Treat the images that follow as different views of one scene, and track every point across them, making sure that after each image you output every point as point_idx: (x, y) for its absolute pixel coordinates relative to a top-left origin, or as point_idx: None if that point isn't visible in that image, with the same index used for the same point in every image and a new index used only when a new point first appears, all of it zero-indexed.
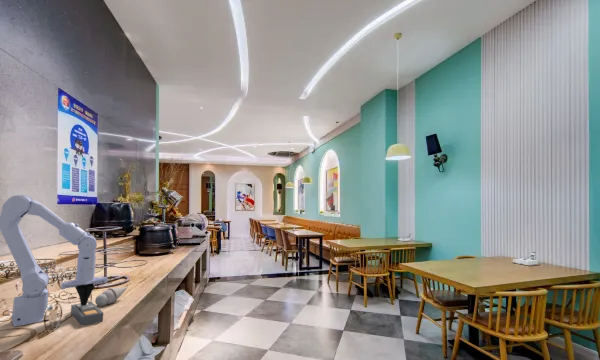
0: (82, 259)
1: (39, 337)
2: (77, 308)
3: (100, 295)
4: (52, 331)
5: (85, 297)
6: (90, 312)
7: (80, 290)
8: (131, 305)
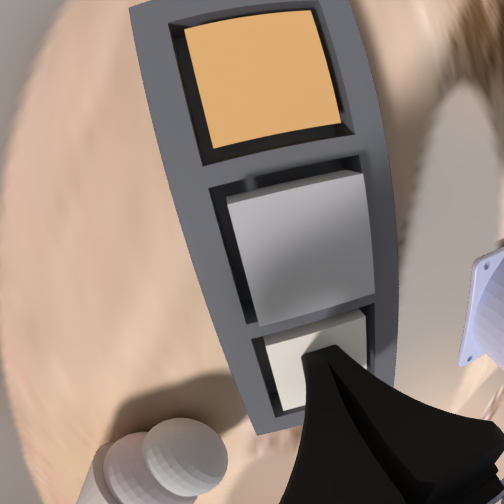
0: None
1: (479, 4)
2: (379, 290)
3: (193, 482)
4: (455, 38)
5: (343, 408)
6: (264, 60)
7: (480, 433)
8: (7, 352)
